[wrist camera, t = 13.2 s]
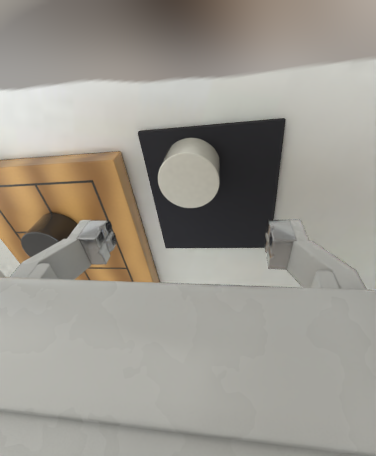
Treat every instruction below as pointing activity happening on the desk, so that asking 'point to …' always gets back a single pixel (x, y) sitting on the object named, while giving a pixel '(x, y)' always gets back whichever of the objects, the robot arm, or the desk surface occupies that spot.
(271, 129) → the stone mat
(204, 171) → the white stone
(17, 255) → the go board
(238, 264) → the desk surface
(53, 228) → the black stone
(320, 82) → the desk surface
